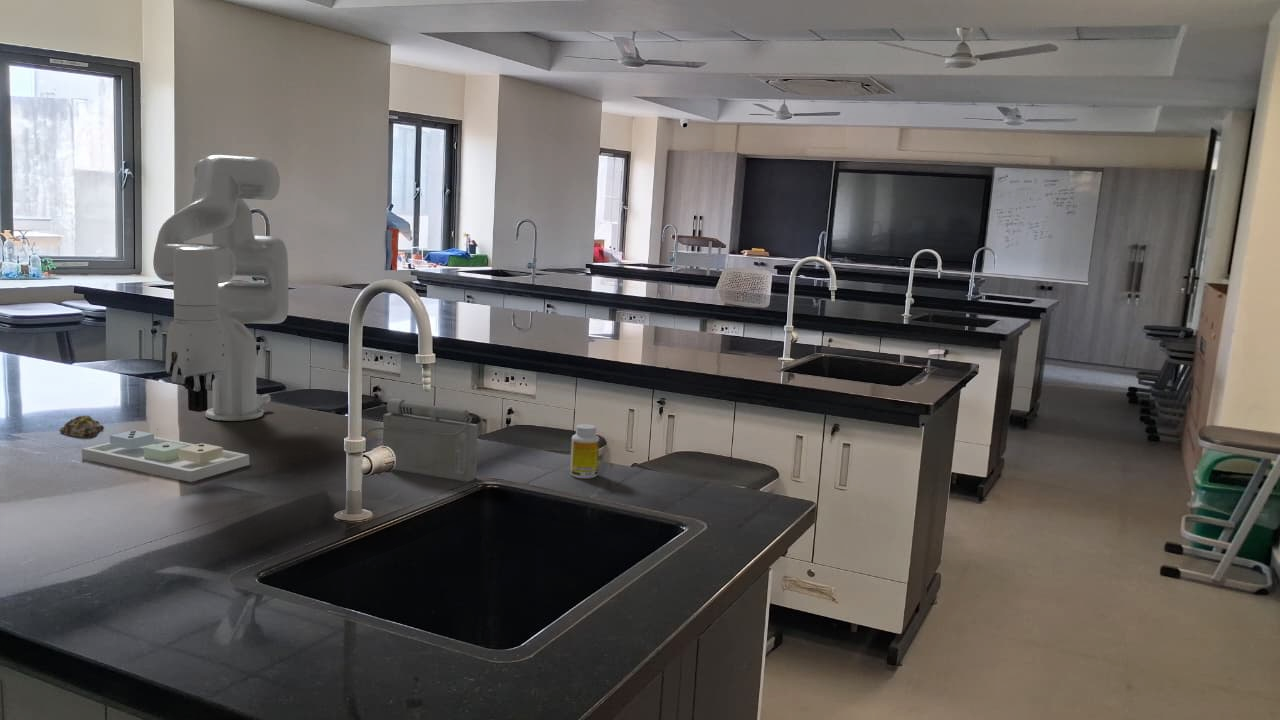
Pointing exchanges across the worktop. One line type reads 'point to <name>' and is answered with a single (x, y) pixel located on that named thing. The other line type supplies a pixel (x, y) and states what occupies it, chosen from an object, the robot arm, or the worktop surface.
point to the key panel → (168, 468)
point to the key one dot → (163, 451)
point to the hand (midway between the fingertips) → (197, 410)
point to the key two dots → (200, 453)
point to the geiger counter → (430, 439)
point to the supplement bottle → (584, 452)
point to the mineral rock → (82, 427)
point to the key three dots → (131, 439)
